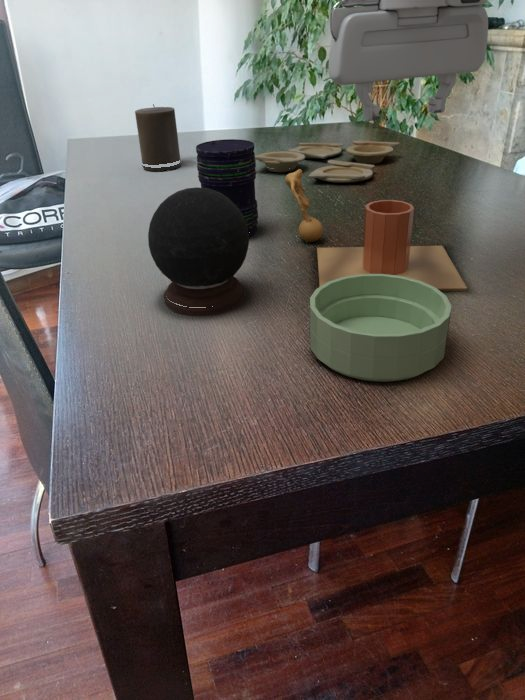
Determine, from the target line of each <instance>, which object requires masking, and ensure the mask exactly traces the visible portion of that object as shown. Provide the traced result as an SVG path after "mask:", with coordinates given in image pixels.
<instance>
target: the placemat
mask: <svg viewBox="0 0 525 700" xmlns="http://www.w3.org/2000/svg"><path fill="white" fill-rule="evenodd" d="M316 256H317V270H318V283H319V285H318V287H320V286H322V285H323V284H325V283H327V282H329V281H332V280H335V279H338V278H341V277H346V276H352V275H359V274H374V273H370V272H368V271H366V270H365V269H363V265H362V258H363V246H346V247H345V246H341V247H340V246H339V247H337V246H336V247H335V246H334V247H332V246H331V247H330V246H329V247H316ZM396 275H397V276H403V277H407V278H411V279H415V280H419V281H422V282H424V283H426V284H429V285H431V286H433V287H435V288H437V289H438V290H439V291H441V292H467V291H468V286H467V285H466V283H465V282H464V280H463V279H462V277H461V275H460V273H459V271H458V270H457V268H456V266H455V265H454V263H453V261H452V260H451V258H450V256H449V255H448V253H447V251H446V249H445V247H444V246H443V245H410V255H409V265H408V269H407V270H406V271H405V272H403V273H399V274H396Z"/></svg>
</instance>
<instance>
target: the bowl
mask: <svg viewBox="0 0 525 700" xmlns="http://www.w3.org/2000/svg"><path fill="white" fill-rule="evenodd" d="M451 316H452V304H451V302H450V300H449V297H448V296H447V295H446V294H445V293H443V291H439V290H438V289H437V288H435V287H433V286H431V285H429V284H426V283H424V282H422V281H419V280H415V279H411V278H407V277H403V276H397V275H388V274H359V275H352V276H346V277H341V278H338V279H335V280H332V281H329V282H327V283H325V284H323V285H322V286H318V288H316V289H314V292H313V293H312V294H311V296H310V297H309V348H310V350H311V352H312V353H313V354H314V356H315V357H316V359H317V360H319V361H320V362H322V363H323V364H324V365H326V366H327V367H328V368H329V369H331V370H332V371H334V372H336V373H338V374H341V375H342V376H345V377H349V378H353V379H356V380H361V381H367V382H376V383H377V382H378V383H379V382H380V383H381V382H382V383H385V382H386V383H387V382H398V381H404V380H409V379H412V378H416V377H418V376H421V375H423V374H424V373H425V372H428V371H430V370H432V369H434V368H435V367H437V365H439V363H440V362H441V361H442V360H443V359H444V357H445V353H446V349H447V343H448V342H447V340H448V335H449V329H450V328H449V327H450V322H451Z"/></svg>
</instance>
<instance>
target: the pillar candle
mask: <svg viewBox="0 0 525 700" xmlns="http://www.w3.org/2000/svg"><path fill="white" fill-rule="evenodd" d="M152 106H153V107H145V108H144V107H143V108H139V109H136V110H135V111H134V115H135V123H136V129H137V137H138V142H139V150H140V157H141V166H142V168H143V170H145V171H148V172H165V171H164V170H169V171H172V170H171V169H173V170H175V169H174V168H176V169H178V168H180V167H181V166H182V162H180V163H179V164H177V165H174V166H170V167H161V168H151V167H145V166H143V165H142V163H143V164H148V165H159V164H167V163H173V162H176V161H179V160H180V161H181V153H180V143H179V137H178V136H179V135H178V127H177V119H176V110H175V108H174V107H172V106H155V104H152Z"/></svg>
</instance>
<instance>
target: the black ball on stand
mask: <svg viewBox="0 0 525 700" xmlns="http://www.w3.org/2000/svg"><path fill="white" fill-rule="evenodd" d="M147 238H148V241H147V242H148V249H149V252H150V256H151V259H152V260H153V262H154V264H155V266H156V268H157V269H158V270H159V271H160V272H161V274H162V275H164V276H165V277H166V278H167V279H168V280H170V281H171V282H170V283H169V284H168V286H167V288H166V290H165V291H164V293H163V301H164V304H165V306H166V308H167V309H169V310H171V311H172V312H173V313H177V314H180V315H184V316H193V317H195V316H196V317H197V316H199V317H201V316H203V317H205V316H213V315H217V314H222V313H225V312H228V311H230V310H232V309H235V308H236V307H238V306H239V305H240V304H242V303H243V301H244V300H245V297H246V292H245V291H246V290H245V286H244V285H243V284H242V283H241V281H240V280H239V279H238V278H237V277H236V276H235V275H236V274H237V273H238V272H239V270H240V269H241V268H242V266H243V264H244V262H245V260H246V258H247V255H248V250H249V244H250V243H249V241H250V239H249V234H248V227H247V225H246V222H245V219H244V217H243V215H242V213H241V211H240V210H239V208H238V207H237V206H236V205H235V204H234V203H233V202H232V201H231V200H230V199H229V198H227V197H226V196H224V195H223V194H221V193H220V192H217V191H214V190H212V189H208V188H201V187H189V188H185V189H181V190H178V191H175V192H174V193H172V194H171V195H168V197H166V198H165V199H164V200H163V201H162V202H161V203H160V204H159V205H158V206H157V208H156V210H155V211H154V212H153V214H152V217H151V220H150V222H149V227H148V235H147ZM166 296H167V297H166ZM167 298H168V299H169V300H170V301H172V302H174V303H177V304H180V305H183V306H187V307H183V306H179V305H176V304H174V303H172V302H170V301H169V300H168V299H167ZM212 306H213V307H212ZM189 307H206V308H189Z"/></svg>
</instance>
